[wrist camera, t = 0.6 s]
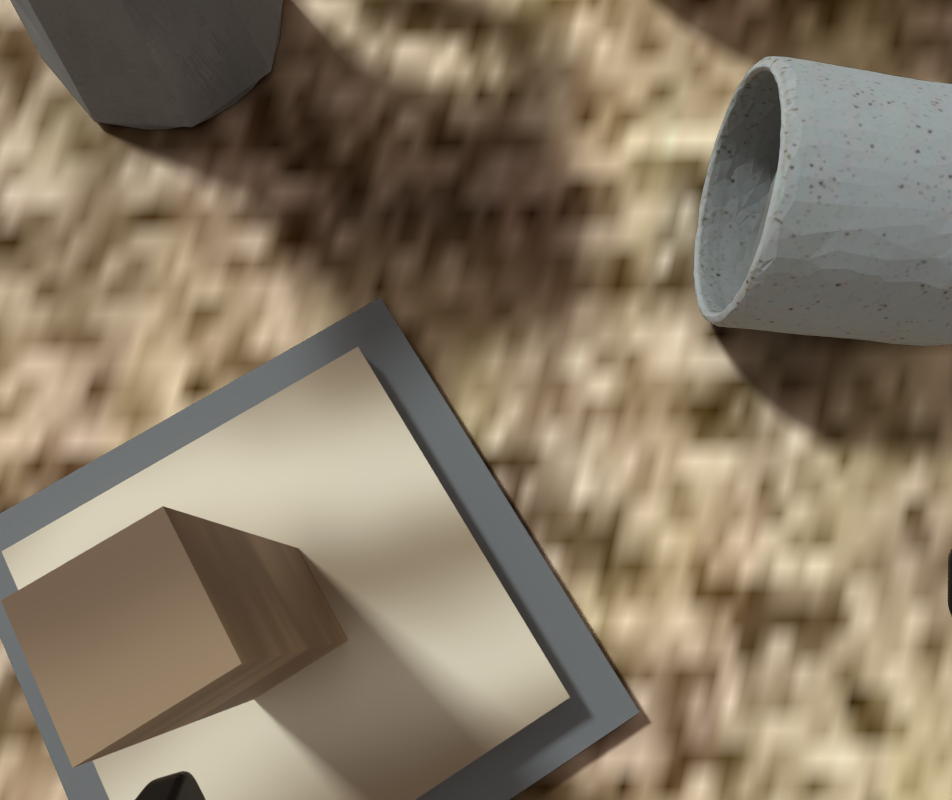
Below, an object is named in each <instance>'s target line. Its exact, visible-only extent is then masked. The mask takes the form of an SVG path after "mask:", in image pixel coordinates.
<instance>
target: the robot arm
mask: <svg viewBox="0 0 952 800" xmlns="http://www.w3.org/2000/svg"><path fill="white" fill-rule="evenodd" d="M948 606H949V610H950V613H951V615H952V549H951V551H950V553H949V557H948ZM135 800H206V799H205V797H204V795H203V793H202V791H201V789H200V787H199V785H198V783H197V781H196V779H195V778H194V777H193V775H192V774H191V773H189V772H187V771H181V772H177V773H174V774H170V775H167V776H164V777H160V778H157V779H155V780H152V781H151V782H149V783H148V784H147V785H146V786H145V788H144V789H143V790H142V791H141V792H140V794H139V795H138V796H137V797H136V799H135Z"/></svg>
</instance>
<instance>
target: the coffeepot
mask: <svg viewBox="0 0 952 800" xmlns="http://www.w3.org/2000/svg"><path fill="white" fill-rule="evenodd" d="M10 1H11V2H12V4H13V6H14V8H15V10H16V12H17V13H18V15H19V17H20V19H21V21H22V23H23V24H24V26H25V28H26V30H27V32H28V34H29V35H30V37H31V39H32V41H33V43H34V44H35V46H36V48H37V50H38V52H39V54H40V55H41V57H42V59H43V60H44V62H45V63H46V64H47V65H48V66H49V68H50V69H51V70H52V71H53V72H54V74H55V75H56V76H57V77H58V78H59V80H60V81H61V82H62V83H63V84H64V86H65V87H66V88H67V89H68V90H69V92H70V93H71V94H72V95H73V96H74V98H75V99H76V100H77V101H78V102H79V104H80V105H81V106H82V107H83V108H84V110H85V111H86V112H87V113H88V114H89V116H90V117H91V118H92V119H93V120H94V122H98V123H105V124H111V125H118V126H125V127H132V128H139V129H145V130H155V129H173V128H177V127H193V126H195V125H197V124H200V123H202V122H204V121H206V120H208V119H210V118H212V117H214V116H216V115H217V114H219V113H221V112H222V111H224V110H226V109H227V108H229V107H231V106H233V105H234V104H236V103H237V102H238V101H239V100H240V99H241V98H243V97H244V96H245V95H246V94H247V93H249V92H250V91H251V90H252V89H253V88H254V86H255V85H256V84H257V83H258V81H259V80H260V79H261V78H262V77H264V76H265V75H266V74H268V73H269V72H271V70H272V65H273V61H274V57H275V53H276V49H277V46H278V42H279V39H280V31H281V12H282V5H283V0H10Z"/></svg>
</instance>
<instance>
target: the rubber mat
mask: <svg viewBox="0 0 952 800" xmlns="http://www.w3.org/2000/svg"><path fill="white" fill-rule="evenodd" d="M356 347H359V349H360V351H361V352H362V354H363V356H364V357H365V359H366V361H367V362H368V364H369V366H370V367H371V369H372V371H373V372H374V374H375V375H376V377H377V379H378V380H379V382H380V384H381V385H382V387H383V389H384V390H385V392H386V394H387V395H388V397H389V399H390V400H391V402H392V404H393V405H394V407H395V409H396V410H397V412H398V414H399V415H400V417H401V418H402V420H403V422H404V423H405V425H406V427H407V428H408V430H409V432H410V433H411V435H412V437H413V438H414V440H415V442H416V443H417V445H418V447H419V448H420V450H421V452H422V453H423V455H424V457H425V458H426V460H427V461H428V463H429V465H430V466H431V468H432V470H433V471H434V473H435V475H436V476H437V478H438V480H439V481H440V483H441V485H442V486H443V488H444V490H445V491H446V493H447V495H448V496H449V498H450V500H451V501H452V503H453V504H454V506H455V508H456V509H457V511H458V513H459V514H460V516H461V518H462V519H463V521H464V523H465V524H466V526H467V528H468V529H469V531H470V533H471V534H472V536H473V538H474V539H475V541H476V543H477V544H478V546H479V547H480V549H481V551H482V552H483V554H484V556H485V557H486V559H487V561H488V562H489V564H490V566H491V567H492V569H493V571H494V572H495V574H496V576H497V577H498V579H499V581H500V582H501V584H502V586H503V587H504V589H505V591H506V592H507V594H508V595H509V597H510V599H511V600H512V602H513V604H514V605H515V607H516V609H517V610H518V612H519V614H520V615H521V617H522V619H523V620H524V622H525V624H526V625H527V627H528V629H529V630H530V632H531V634H532V635H533V637H534V638H535V640H536V642H537V643H538V645H539V647H540V648H541V650H542V652H543V653H544V655H545V657H546V658H547V660H548V662H549V663H550V665H551V667H552V668H553V670H554V672H555V673H556V675H557V677H558V678H559V680H560V681H561V683H562V685H563V686H564V688H565V690H566V691H567V693H568V695H569V696H570V698H568V699H567V700H565V701H564V702H562V703H561V704H559V705H558V706H556V707H555V708H553V709H552V710H550V711H549V712H547V713H546V714H544V715H543V716H541V717H540V718H538V719H536V720H535V721H533V722H532V723H530V724H529V725H527V726H526V727H524V728H523V729H521V730H520V731H518V732H517V733H515V734H514V735H512V736H511V737H509V738H508V739H506V740H505V741H503V742H502V743H500V744H499V745H497V746H496V747H494V748H493V749H491V750H490V751H488V752H487V753H485V754H484V755H482V756H481V757H479V758H478V759H476V760H475V761H473V762H472V763H470V764H469V765H467V766H465V767H464V768H462V769H461V770H459V771H458V772H456V773H455V774H453V775H452V776H450V777H449V778H447V779H446V780H444V781H443V782H441V783H440V784H438V785H437V786H435V787H434V788H432V789H431V790H429V791H428V792H426V793H425V794H423V795H422V796H420V797H419V798H417V799H416V800H510V799H511V798H513V797H514V796H516V795H517V794H519V793H520V792H522V791H523V790H525V789H526V788H528V787H529V786H531V785H532V784H534V783H535V782H537V781H538V780H540V779H541V778H543V777H544V776H546V775H547V774H549V773H550V772H552V771H553V770H554V769H556V768H557V767H559V766H560V765H562V764H563V763H565V762H566V761H568V760H569V759H571V758H572V757H574V756H575V755H577V754H578V753H580V752H581V751H583V750H584V749H586V748H587V747H589V746H590V745H592V744H593V743H595V742H596V741H598V740H599V739H601V738H602V737H603V736H605V735H606V734H608V733H609V732H611V731H612V730H614V729H615V728H617V727H618V726H620V725H621V724H623V723H624V722H626V721H627V720H629V719H630V718H632V717H633V716H635V715H636V714H638V713H639V710H638V709H637V707H636V705H635V704H634V702H633V701H632V699H631V697H630V696H629V694H628V693H627V691H626V689H625V688H624V686H623V685H622V683H621V681H620V680H619V678H618V677H617V675H616V673H615V672H614V670H613V669H612V667H611V665H610V664H609V662H608V661H607V659H606V657H605V656H604V654H603V653H602V651H601V649H600V648H599V646H598V645H597V643H596V641H595V640H594V638H593V637H592V635H591V633H590V632H589V630H588V629H587V627H586V625H585V624H584V622H583V621H582V619H581V617H580V616H579V614H578V613H577V611H576V609H575V608H574V606H573V605H572V603H571V601H570V600H569V598H568V597H567V595H566V593H565V592H564V590H563V589H562V587H561V585H560V584H559V582H558V581H557V579H556V577H555V576H554V574H553V573H552V571H551V569H550V568H549V566H548V565H547V563H546V561H545V560H544V558H543V557H542V555H541V553H540V552H539V550H538V549H537V547H536V545H535V544H534V542H533V541H532V539H531V537H530V536H529V534H528V533H527V531H526V529H525V528H524V526H523V525H522V523H521V521H520V520H519V518H518V517H517V515H516V513H515V512H514V510H513V509H512V507H511V505H510V504H509V502H508V501H507V499H506V497H505V496H504V494H503V493H502V491H501V489H500V488H499V486H498V485H497V483H496V481H495V480H494V478H493V477H492V475H491V473H490V472H489V470H488V469H487V467H486V465H485V464H484V462H483V461H482V459H481V457H480V456H479V454H478V453H477V451H476V449H475V448H474V446H473V445H472V443H471V441H470V440H469V438H468V437H467V435H466V433H465V432H464V430H463V429H462V427H461V425H460V424H459V422H458V421H457V419H456V417H455V416H454V414H453V413H452V411H451V409H450V408H449V406H448V405H447V403H446V401H445V400H444V398H443V397H442V395H441V393H440V392H439V390H438V389H437V387H436V385H435V384H434V382H433V381H432V379H431V377H430V376H429V374H428V373H427V371H426V369H425V368H424V366H423V365H422V363H421V361H420V360H419V358H418V357H417V355H416V353H415V352H414V350H413V349H412V347H411V345H410V344H409V342H408V341H407V339H406V337H405V336H404V334H403V333H402V331H401V329H400V328H399V326H398V325H397V323H396V321H395V320H394V318H393V317H392V315H391V313H390V312H389V310H388V309H387V307H386V305H385V304H384V302H383V301H382V299H381V298H379V299H377V300H375V301H374V302H372V303H370V304H368V305H367V306H365V307H363V308H361V309H359V310H358V311H356V312H354V313H352V314H351V315H349V316H347V317H345V318H344V319H342V320H340V321H338V322H337V323H335V324H333V325H331V326H330V327H328V328H326V329H324V330H323V331H321V332H319V333H317V334H315V335H314V336H312V337H310V338H308V339H307V340H305V341H303V342H301V343H300V344H298V345H296V346H294V347H293V348H291V349H289V350H287V351H286V352H284V353H282V354H280V355H279V356H277V357H275V358H273V359H271V360H270V361H268V362H266V363H264V364H263V365H261V366H259V367H257V368H256V369H254V370H252V371H250V372H249V373H247V374H245V375H243V376H242V377H240V378H238V379H236V380H235V381H233V382H231V383H229V384H227V385H226V386H224V387H222V388H220V389H219V390H217V391H215V392H213V393H212V394H210V395H208V396H206V397H205V398H203V399H201V400H199V401H198V402H196V403H194V404H192V405H191V406H189V407H187V408H185V409H183V410H182V411H180V412H178V413H176V414H175V415H173V416H171V417H169V418H168V419H166V420H164V421H162V422H161V423H159V424H157V425H155V426H154V427H152V428H150V429H148V430H147V431H145V432H143V433H141V434H139V435H138V436H136V437H134V438H132V439H131V440H129V441H127V442H125V443H124V444H122V445H120V446H118V447H117V448H115V449H113V450H111V451H110V452H108V453H106V454H104V455H102V456H101V457H99V458H97V459H95V460H94V461H92V462H90V463H88V464H87V465H85V466H83V467H81V468H80V469H78V470H76V471H74V472H73V473H71V474H69V475H67V476H66V477H64V478H62V479H60V480H58V481H57V482H55V483H53V484H51V485H50V486H48V487H46V488H44V489H43V490H41V491H39V492H37V493H36V494H34V495H32V496H30V497H29V498H27V499H25V500H23V501H22V502H20V503H18V504H16V505H14V506H13V507H11V508H9V509H7V510H6V511H4V512H2V513H0V638H1V640H2V643H3V645H4V648H5V650H6V652H7V655H8V657H9V659H10V662H11V664H12V667H13V669H14V671H15V674H16V676H17V678H18V681H19V683H20V686H21V688H22V690H23V693H24V695H25V697H26V700H27V702H28V705H29V707H30V709H31V712H32V714H33V716H34V719H35V721H36V723H37V726H38V728H39V731H40V733H41V735H42V738H43V740H44V742H45V745H46V747H47V750H48V752H49V754H50V757H51V759H52V761H53V764H54V766H55V769H56V771H57V773H58V776H59V778H60V780H61V783H62V785H63V788H64V790H65V792H66V795H67V797H68V799H69V800H109V798H108V795H107V793H106V791H105V788H104V786H103V784H102V781H101V779H100V777H99V775H98V772H97V770H96V768H95V765H94V763H93V761H90V762H87V763H85V764H82V765H79V766H77V767H74V768H72V765H71V763H70V761H69V758H68V756H67V754H66V751H65V749H64V747H63V744H62V742H61V740H60V737H59V735H58V733H57V730H56V728H55V726H54V723H53V721H52V719H51V716H50V714H49V712H48V709H47V707H46V705H45V702H44V700H43V698H42V695H41V693H40V691H39V688H38V686H37V684H36V681H35V679H34V677H33V674H32V672H31V670H30V667H29V665H28V663H27V660H26V658H25V655H24V653H23V651H22V648H21V646H20V644H19V641H18V639H17V637H16V634H15V632H14V630H13V627H12V625H11V623H10V620H9V618H8V616H7V613H6V611H5V609H4V606H3V604H2V602H1V600H3V599H4V598H6V597H8V596H10V595H11V594H13V593H15V592H16V591H18V588H17V586H16V584H15V581H14V579H13V577H12V574H11V572H10V570H9V568H8V565H7V563H6V561H5V558H4V556H3V554H2V551H3V550H5V549H7V548H8V547H10V546H12V545H14V544H15V543H17V542H19V541H21V540H22V539H24V538H26V537H28V536H29V535H31V534H33V533H35V532H36V531H38V530H40V529H41V528H43V527H45V526H47V525H48V524H50V523H52V522H54V521H55V520H57V519H59V518H61V517H62V516H64V515H66V514H68V513H69V512H71V511H73V510H75V509H76V508H78V507H80V506H82V505H83V504H85V503H87V502H88V501H90V500H92V499H94V498H95V497H97V496H99V495H101V494H102V493H104V492H106V491H108V490H109V489H111V488H113V487H115V486H116V485H118V484H120V483H122V482H123V481H125V480H127V479H128V478H130V477H132V476H134V475H135V474H137V473H139V472H141V471H142V470H144V469H146V468H148V467H149V466H151V465H153V464H155V463H156V462H158V461H160V460H162V459H163V458H165V457H167V456H169V455H170V454H172V453H174V452H175V451H177V450H179V449H181V448H182V447H184V446H186V445H188V444H189V443H191V442H193V441H195V440H196V439H198V438H200V437H202V436H203V435H205V434H207V433H209V432H210V431H212V430H214V429H216V428H217V427H219V426H221V425H222V424H224V423H226V422H228V421H229V420H231V419H233V418H235V417H236V416H238V415H240V414H242V413H243V412H245V411H247V410H249V409H250V408H252V407H254V406H256V405H257V404H259V403H261V402H263V401H264V400H266V399H268V398H269V397H271V396H273V395H275V394H276V393H278V392H280V391H282V390H283V389H285V388H287V387H289V386H290V385H292V384H294V383H296V382H297V381H299V380H301V379H303V378H304V377H306V376H308V375H310V374H311V373H313V372H315V371H316V370H318V369H320V368H322V367H323V366H325V365H327V364H329V363H330V362H332V361H334V360H336V359H337V358H339V357H341V356H343V355H344V354H346V353H348V352H350V351H351V350H353V349H355V348H356Z"/></svg>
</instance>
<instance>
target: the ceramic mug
mask: <svg viewBox="0 0 952 800" xmlns="http://www.w3.org/2000/svg"><path fill="white" fill-rule="evenodd" d="M694 278H695V292H696V297H697V300H698V305H699V308H700V311H701V313H702V315H703V317H704V318H705V319H706V320H707V321H709V322H710V323H711V324H714V325H716V326H719V327H730V328H742V329H754V330H763V331H772V332H781V333H789V334H800V335H812V336H824V337H836V338H847V339H859V340H868V341H875V342H882V343H889V344H902V345H917V346H936V345H952V84H948V83H939V82H931V81H922V80H917V79H911V78H905V77H899V76H893V75H888V74H882V73H877V72H872V71H866V70H860V69H854V68H849V67H843V66H837V65H831V64H826V63H820V62H815V61H810V60H804V59H797V58H790V57H778V56H770V57H765V58H763V59H762V60H760V61H759V62H757V63H756V64H755V65H754V66H753V67H752V68H751V69H750V70H749V71H748V72H747V73H746V75H745V77H744V79H743V80H742V82H741V83H740V84H739V86H738V87H737V89H736V91H735V93H734V95H733V98H732V100H731V102H730V104H729V107H728V109H727V111H726V114H725V117H724V120H723V122H722V125H721V128H720V131H719V133H718V136H717V139H716V142H715V145H714V149H713V153H712V156H711V160H710V163H709V166H708V170H707V176H706V180H705V184H704V188H703V193H702V197H701V202H700V207H699V220H698V229H697V234H696V239H695V259H694Z"/></svg>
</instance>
